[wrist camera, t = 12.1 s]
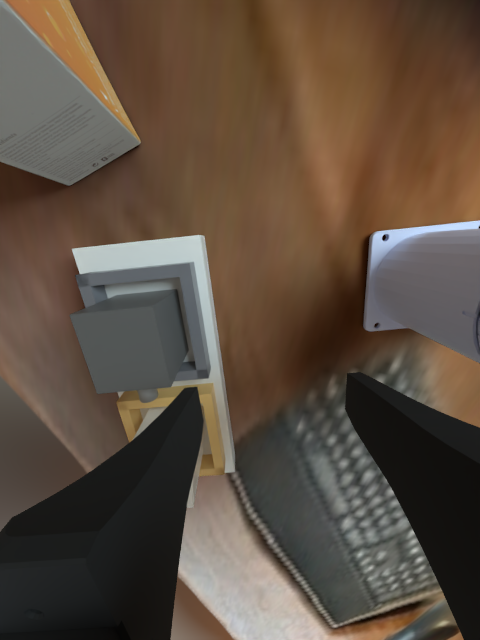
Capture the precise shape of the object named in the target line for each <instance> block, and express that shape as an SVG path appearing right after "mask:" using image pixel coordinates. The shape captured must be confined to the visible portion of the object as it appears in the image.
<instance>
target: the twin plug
mask: <svg viewBox="0 0 480 640" xmlns="http://www.w3.org/2000/svg"><path fill="white" fill-rule="evenodd" d="M70 318H71V321H72V323H73V326H74V329H75V332H76V335H77V338H78V341H79V343H80V346H81V349H82V352H83V355H84V358H85V360H86V363H87V366H88V369H89V372H90V375H91V378H92V380H93V383H94V386H95V389H96V392H97V394H101V393H113V392H124V391H135V390H137V392H138V395H139V399H140V401H141V402H142V403H148V402H151V401H153V400H155V399H156V398H157V397H158V390H157V389H158V388H169V387H171V386H172V384H173V382H174V380H175V378H176V376H177V374H178V372H179V370H180V368H181V365H182V363H183V361H184V359H185V357H186V355H187V353H188V351H189V349H188V344H187V339H186V333H185V328H184V323H183V317H182V312H181V307H180V302H179V296H178V291H177V289H171V290H161V291H151V292H141V293H131V294H121V295H116V296H113V297H111V298H108V299H106V300H104V301H101V302H99V303H96V304H94V305H92V306H89V307H87V308H84V309H82V310H80V311H77V312H75V313H72V314H70Z"/></svg>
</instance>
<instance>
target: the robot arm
mask: <svg viewBox="0 0 480 640" xmlns="http://www.w3.org/2000/svg"><path fill="white" fill-rule="evenodd" d="M479 226H480V221H471V222H462V223H452V224H443V225H433V226H424V227H414V228H405V229H396V230H386V231H377V232H374V233H373V234H372V235H371V236H370V240H369V254H368V267H367V281H366V295H365V308H364V322H363V327H364V329H365V330H367V331H370V332H371V331H382V330H393V329H404V328H410V329H412V330H414V331H416V332H418V333H420V334H422V335H424V336H426V337H428V338H430V339H432V340H434V341H436V342H438V343H440V344H442V345H444V346H446V347H448V348H450V349H452V350H454V351H456V352H458V353H460V354H462V355H464V356H466V357H468V358H470V359H472V360H474V361H476V362H478V363H480V229H478V228H479ZM384 234H385V235H386V239H385V240H384V241H383V240H382V237H383V235H384ZM376 323H378V325H377V326H376V327H374V325H375V324H376ZM345 410H346V412H347V414H348V416H349V418H350V421H351V423H352V425H353V427H354V429H355V430H356V432H357V434H358V435H359V437H360V439H361V440H362V442H363V443H364V445H365V446H366V448H367V450H368V451H369V453H370V454H371V456H372V457H373V459H374V461H375V462H376V464H377V465H378V467H379V468H380V470H381V471H382V473H383V475H384V476H385V478H386V479H387V481H388V483H389V485H390V486H391V488H392V490H393V492H394V494H395V495H396V497H397V499H398V501H399V503H400V505H401V507H402V509H403V511H404V513H405V515H406V516H407V518H408V520H409V522H410V524H411V526H412V528H413V531H414V533H415V535H416V537H417V539H418V541H419V543H420V545H421V547H422V549H423V551H424V553H425V555H426V557H427V559H428V561H429V563H430V566H431V568H432V570H433V572H434V574H435V576H436V578H437V580H438V583H439V585H440V587H441V589H442V591H443V593H444V596H445V598H446V600H447V602H448V605H449V607H450V609H451V611H452V614H453V616H454V618H455V620H456V623H457V625H458V627H459V629H460V632H461V634H462V636H463V638H464V640H480V428H479V427H476V426H474V425H471V424H468V423H466V422H463V421H461V420H458V419H456V418H453V417H451V416H449V415H446V414H444V413H441V412H439V411H437V410H435V409H432V408H430V407H428V406H426V405H424V404H422V403H420V402H417V401H415V400H413V399H411V398H409V397H407V396H405V395H403V394H401V393H400V392H398V391H396V390H394V389H392V388H390V387H388V386H386V385H384V384H382V383H381V382H379V381H377V380H375V379H373V378H371V377H369V376H367V375H365V374H363V373H361V372H357V373H347V384H346V403H345ZM203 423H204V420H203V414H202V409H201V404H200V398H199V393H198V387H187V388H184V389H183V390H182V391H181V392H180V394H179V395H178V396H177V397H176V398H175V399H174V400H173V401H172V402H171V403H170V404H169V406H168V407H167V408H166V409H165V410H164V411H163V412H162V413H161V414H160V415H159V416H158V417H157V418H156V419H155V420H154V421H153V422H152V423H151V424H150V425H149V426H148V427H147V428H146V429H145V430H143V431H142V432H141V433H140V434H139V435H138V436H137V437H136V438H134V439H133V440H132V441H131V442H130V443H128V444H127V445H126V446H125V447H124V448H122V449H121V450H120V451H119V452H117V453H116V454H114V455H113V456H112V457H110V458H109V459H108V460H106V461H105V462H103V463H102V464H101V465H99V466H98V467H97V468H95V469H94V470H92V471H91V472H89V473H88V474H86V475H85V476H83V477H82V478H80V479H79V480H77V481H76V482H74V483H72V484H71V485H69V486H67V487H66V488H64V489H63V490H61V491H59V492H57V493H56V494H54V495H52V496H51V497H49V498H47V499H45V500H43V501H42V502H40V503H38V504H36V505H35V506H33V507H31V508H29V509H27V510H25V511H24V512H22V513H20V514H18V515H16V516H14V517H12V518H11V520H10V521H9V522H8V523H7V525H6V526H5V527H4V528H3V529H2V531H1V532H0V640H170V637H171V628H172V618H173V609H174V600H175V591H176V583H177V574H178V566H179V558H180V551H181V543H182V536H183V529H184V522H185V515H186V508H187V502H188V497H189V492H190V488H191V484H192V479H193V475H194V471H195V467H196V463H197V458H198V454H199V450H200V445H201V441H202V432H203Z"/></svg>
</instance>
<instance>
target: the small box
mask: <svg viewBox="0 0 480 640" xmlns="http://www.w3.org/2000/svg"><path fill="white" fill-rule="evenodd" d="M140 143H141V141H140V139H139V137H138V135H137V133H136V132H135V130H134V128H133V126H132V124H131V123H130V121H129V119H128V117H127V115H126V113H125V111H124V109H123V107H122V105H121V104H120V102H119V100H118V98H117V96H116V94H115V92H114V90H113V88H112V86H111V84H110V82H109V80H108V78H107V76H106V74H105V72H104V70H103V68H102V66H101V64H100V62H99V60H98V58H97V56H96V54H95V52H94V50H93V48H92V46H91V44H90V42H89V40H88V38H87V36H86V34H85V32H84V30H83V28H82V26H81V24H80V22H79V20H78V18H77V16H76V14H75V12H74V10H73V8H72V6H71V4H70V2H69V0H0V162H2V163H5V164H8V165H11V166H14V167H16V168H19V169H22V170H25V171H28V172H31V173H34V174H36V175H40V176H42V177H45V178H48V179H51V180H54V181H56V182H59V183H62V184H65V185H68V186H70V185H72V184H74V183H76V182H77V181H79V180H81V179H82V178H84V177H86V176H87V175H89V174H91V173H92V172H94V171H96V170H98V169H99V168H101V167H102V166H104V165H106V164H108V163H109V162H111V161H112V160H114V159H116V158H118V157H119V156H121V155H122V154H124V153H126V152H127V151H129V150H131V149H132V148H134V147H136V146H138V145H139V144H140Z"/></svg>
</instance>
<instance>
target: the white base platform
mask: <svg viewBox="0 0 480 640" xmlns="http://www.w3.org/2000/svg"><path fill="white" fill-rule="evenodd" d="M72 251H73V254H74V257H75V260H76V264H77V267H78V270H79V273H80V274H79V275H75V277H76V280H77V283H78V286H79V289H80V292H81V296H82V299H83V302H84V305H85V308H87V307H89V306H92V305H94V304H96V303H99V302H101V301H104V300H106V299H108V298H111V297H113V296H116V295H121V294H131V293H141V292H151V291H161V290H171V289H177V291H178V296H179V302H180V307H181V312H182V317H183V323H184V328H185V333H186V339H187V344H188V349H189V351H188V353H187V355H186V357H185V359H184V361H183V363H182V365H181V368H180V370H179V372H178V374H177V376H176V378H175V380H174V382H173V384H172V386H171V387H169V388H158V389H157V390H158V397H157V398H156V399H155V400H153V401H151V402H148V403H142V402H141V401H140V399H139V395H138V392H137V390H135V391H124V392H117V393H118V396H119V399H118V400H117V402H116V403H117V406H118V409H119V413H120V416H121V419H122V422H123V425H124V428H125V431H126V434H127V437H128V440H129V443H130V442H131V441H132V440H133V438H134V436H135V434H136V433H137V431H138V429H139V427H140V425H141V423H142V422H143V420H144V418H145V416H146V414H147V412H148V411H149V409H150V408H153V407H165V406H169V404H170V403H171V402H172V401H173V400H174V399H175V398H176V397H177V396H178V395H179V394H180V392H181V391H182V390H183V389H184V388H187V387H198V393H199V398H200V404H201V406H203V408H204V446H203V455H202V461H201V467H200V473H199V476H210V475H223V474H225V473H228V472H235V450H234V443H233V436H232V429H231V422H230V415H229V408H228V401H227V394H226V386H225V379H224V372H223V365H222V358H221V351H220V344H219V337H218V330H217V323H216V316H215V308H214V301H213V294H212V287H211V280H210V273H209V266H208V259H207V252H206V245H205V237H204V236H202V235H195V236H186V237H177V238H168V239H158V240H149V241H140V242H131V243H121V244H112V245H103V246H94V247H84V248H75V249H72Z"/></svg>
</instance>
